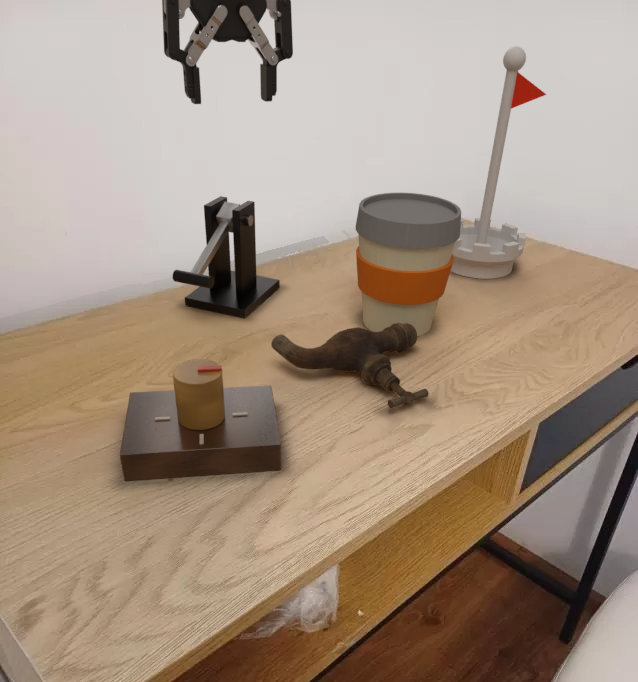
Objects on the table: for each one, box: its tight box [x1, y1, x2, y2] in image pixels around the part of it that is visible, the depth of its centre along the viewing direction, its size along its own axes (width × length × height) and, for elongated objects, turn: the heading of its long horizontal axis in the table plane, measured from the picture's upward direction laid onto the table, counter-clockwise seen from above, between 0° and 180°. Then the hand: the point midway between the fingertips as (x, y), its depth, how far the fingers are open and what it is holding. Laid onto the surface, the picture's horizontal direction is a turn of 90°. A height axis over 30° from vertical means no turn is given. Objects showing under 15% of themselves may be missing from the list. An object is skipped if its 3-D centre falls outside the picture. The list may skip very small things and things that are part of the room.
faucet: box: [270, 323, 429, 409], centre depth 72 cm, size 5×17×15 cm
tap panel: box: [119, 385, 282, 482], centre depth 61 cm, size 14×10×3 cm
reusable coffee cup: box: [355, 192, 462, 338], centre depth 80 cm, size 13×13×15 cm
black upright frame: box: [184, 195, 280, 319], centre depth 86 cm, size 11×9×13 cm
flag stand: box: [450, 46, 547, 280], centre depth 93 cm, size 13×13×30 cm
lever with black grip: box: [172, 201, 241, 289], centre depth 81 cm, size 13×5×2 cm, turn 158°
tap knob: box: [172, 358, 225, 430], centre depth 59 cm, size 4×4×5 cm
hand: (231, 101), depth 75 cm, fingers open, 8 cm apart
